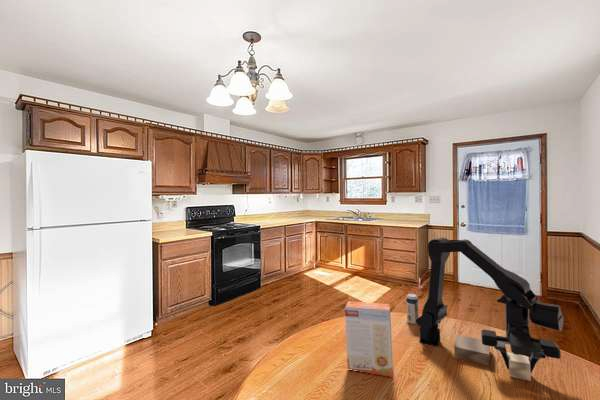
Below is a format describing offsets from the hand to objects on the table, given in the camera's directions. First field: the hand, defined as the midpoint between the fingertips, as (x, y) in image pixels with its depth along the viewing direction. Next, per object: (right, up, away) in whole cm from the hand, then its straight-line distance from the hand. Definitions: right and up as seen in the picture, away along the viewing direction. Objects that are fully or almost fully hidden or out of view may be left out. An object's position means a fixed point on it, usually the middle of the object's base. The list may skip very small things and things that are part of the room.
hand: (518, 370), depth 87 cm
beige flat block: (-7, -2, +12) cm, 14 cm away
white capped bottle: (-17, -2, +39) cm, 42 cm away
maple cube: (0, -1, 0) cm, 1 cm away
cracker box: (-44, -3, +6) cm, 44 cm away
